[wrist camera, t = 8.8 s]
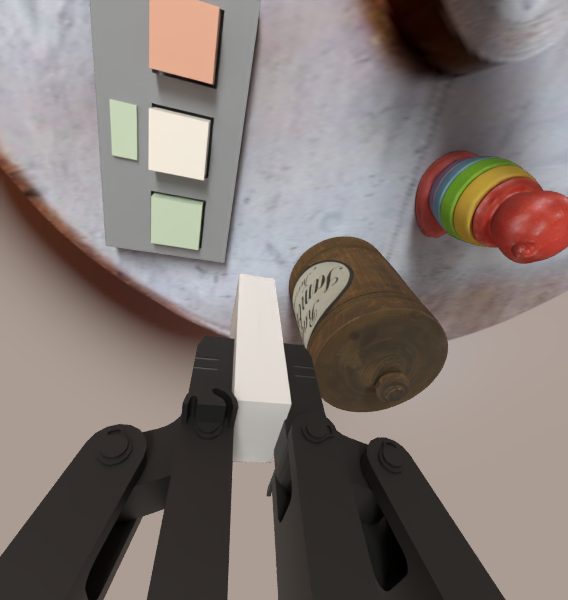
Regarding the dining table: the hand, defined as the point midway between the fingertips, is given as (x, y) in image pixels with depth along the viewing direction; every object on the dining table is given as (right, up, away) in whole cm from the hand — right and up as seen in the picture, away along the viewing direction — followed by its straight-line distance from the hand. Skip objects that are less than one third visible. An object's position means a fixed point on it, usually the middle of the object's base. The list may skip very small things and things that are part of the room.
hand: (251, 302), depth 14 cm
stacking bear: (+24, +15, +29) cm, 40 cm away
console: (-11, +18, +22) cm, 30 cm away
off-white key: (-9, +17, +20) cm, 27 cm away
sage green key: (-11, +10, +25) cm, 29 cm away
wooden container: (+9, +3, +35) cm, 36 cm away
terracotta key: (-7, +24, +15) cm, 29 cm away
